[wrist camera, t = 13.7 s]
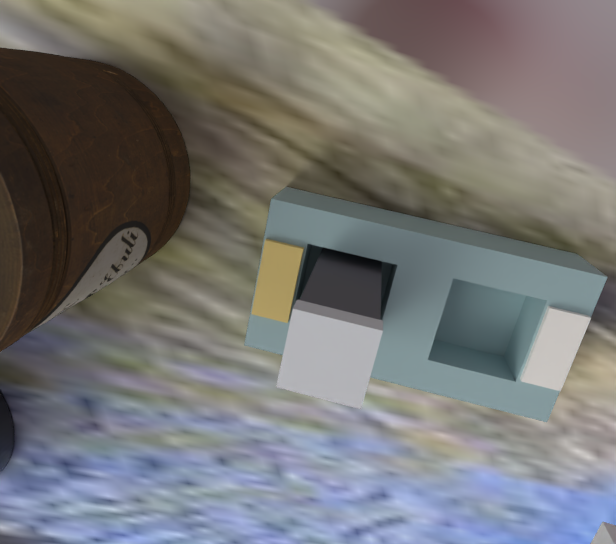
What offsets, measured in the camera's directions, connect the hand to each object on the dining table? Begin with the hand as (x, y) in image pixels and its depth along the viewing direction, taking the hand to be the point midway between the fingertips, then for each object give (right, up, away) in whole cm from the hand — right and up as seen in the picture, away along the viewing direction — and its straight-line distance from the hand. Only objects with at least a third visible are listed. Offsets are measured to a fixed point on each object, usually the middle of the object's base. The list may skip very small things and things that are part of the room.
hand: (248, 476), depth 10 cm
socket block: (+8, +3, +27) cm, 28 cm away
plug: (+4, +4, +26) cm, 26 cm away
